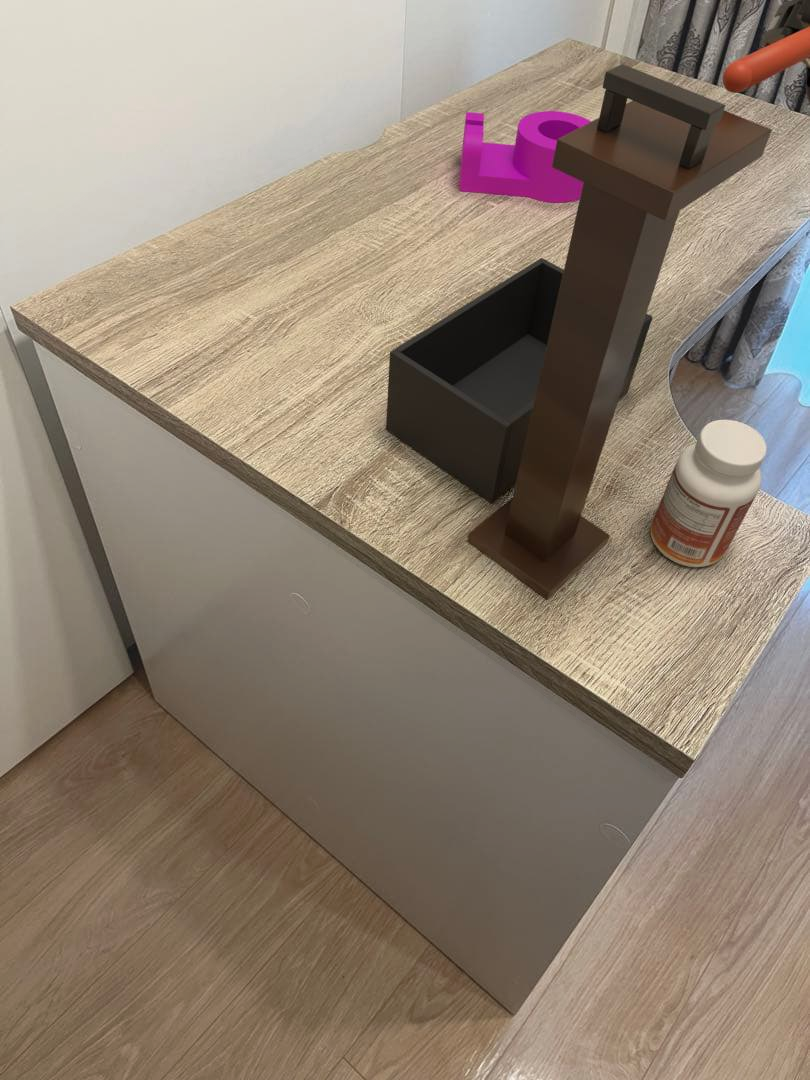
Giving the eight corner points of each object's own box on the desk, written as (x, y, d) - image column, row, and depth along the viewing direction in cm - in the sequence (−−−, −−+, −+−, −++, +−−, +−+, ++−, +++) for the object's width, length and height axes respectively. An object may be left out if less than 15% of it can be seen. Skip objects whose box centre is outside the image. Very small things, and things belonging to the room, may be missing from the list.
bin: (526, 333, 86) (541, 257, 79) (627, 393, 81) (653, 316, 74) (385, 429, 76) (389, 351, 69) (491, 504, 71) (506, 427, 64)
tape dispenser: (587, 165, 109) (598, 115, 104) (592, 206, 103) (605, 154, 98) (461, 154, 109) (467, 103, 104) (459, 194, 103) (464, 141, 98)
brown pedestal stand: (550, 472, 74) (668, 28, 47) (628, 523, 71) (802, 77, 44) (467, 541, 68) (547, 83, 42) (547, 600, 65) (689, 144, 38)
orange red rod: (840, 29, 57) (850, 1, 56) (864, 35, 56) (874, 7, 55) (713, 91, 48) (721, 60, 47) (739, 99, 47) (748, 68, 46)
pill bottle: (705, 507, 72) (753, 407, 64) (738, 564, 68) (795, 466, 60) (636, 516, 71) (676, 416, 63) (666, 575, 67) (713, 477, 59)
